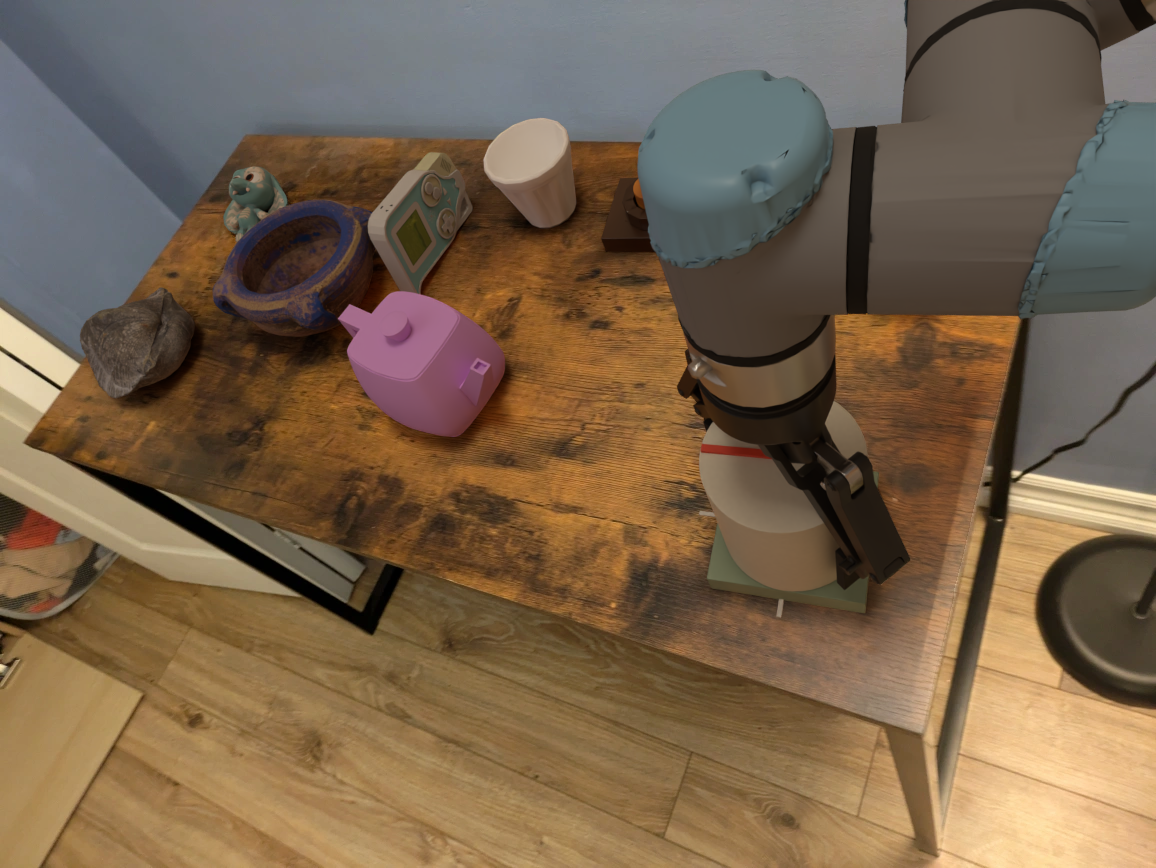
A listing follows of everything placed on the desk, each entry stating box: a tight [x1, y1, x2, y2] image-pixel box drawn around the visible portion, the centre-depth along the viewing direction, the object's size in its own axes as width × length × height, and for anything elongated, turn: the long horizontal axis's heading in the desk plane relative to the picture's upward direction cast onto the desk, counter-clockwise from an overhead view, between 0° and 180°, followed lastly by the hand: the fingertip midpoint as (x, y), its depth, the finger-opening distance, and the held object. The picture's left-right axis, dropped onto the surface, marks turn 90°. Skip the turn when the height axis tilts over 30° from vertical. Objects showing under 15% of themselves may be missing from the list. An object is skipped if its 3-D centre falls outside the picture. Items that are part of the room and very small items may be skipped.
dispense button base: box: [600, 177, 656, 253], centre depth 84 cm, size 11×9×4 cm
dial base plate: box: [698, 470, 880, 618], centre depth 63 cm, size 15×15×3 cm
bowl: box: [212, 198, 376, 338], centre depth 92 cm, size 18×18×10 cm
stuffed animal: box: [222, 165, 289, 243], centre depth 106 cm, size 11×7×12 cm
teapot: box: [338, 290, 506, 438], centre depth 77 cm, size 20×12×13 cm, turn 57°
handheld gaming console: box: [368, 151, 474, 295], centre depth 91 cm, size 11×3×15 cm
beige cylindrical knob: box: [698, 400, 869, 591], centre depth 57 cm, size 11×11×12 cm
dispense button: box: [633, 177, 645, 210], centre depth 82 cm, size 4×4×2 cm
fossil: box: [79, 287, 196, 399], centre depth 96 cm, size 15×14×10 cm
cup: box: [483, 117, 577, 230], centre depth 88 cm, size 10×10×9 cm
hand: (789, 510), depth 59 cm, fingers open, 13 cm apart
